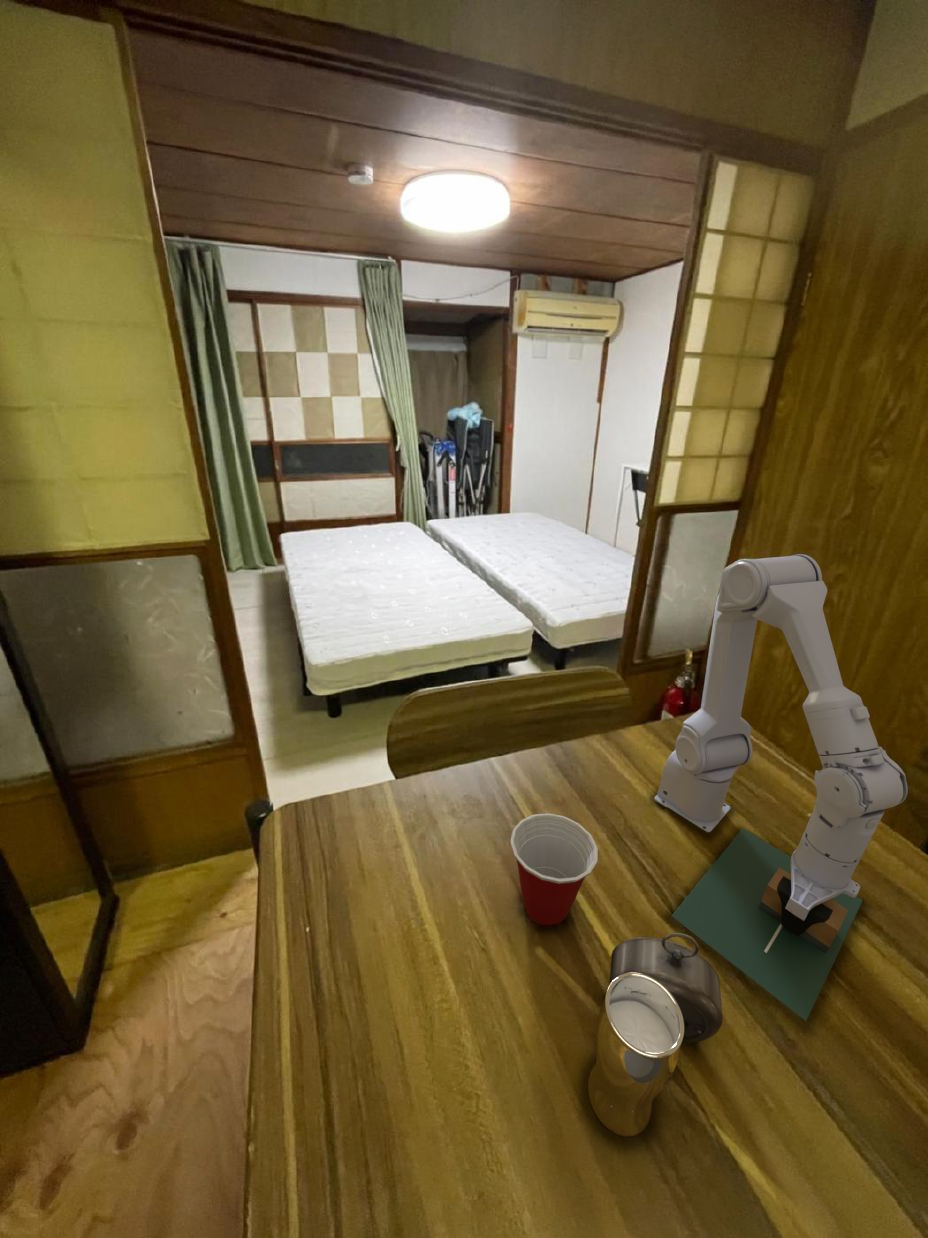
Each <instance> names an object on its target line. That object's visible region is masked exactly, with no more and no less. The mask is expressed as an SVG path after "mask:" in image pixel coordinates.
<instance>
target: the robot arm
mask: <svg viewBox="0 0 928 1238" xmlns="http://www.w3.org/2000/svg"><path fill="white" fill-rule="evenodd" d="M721 571H722V572H721V578H720V584H719V590H718V591H719V592H718V595H717V597H716V600H715V606H714V613H713V621H712V627H711V634H710V640H709V648H708V656H707V661H706V662H707V663H706V670H705V677H704V682H703V683H704V684H703V689H702V697H701V704H700V708H699V709H698V710H697V711H695V712H694V713H693V714H692V715H690V716H689V717H688V718H686V719H685V720H684V721H683V722H682V726H681V731H680V733H679V734H678V735H677V737H676V741H675V745H674V746H675V748H674V750H673V751H672V752H671V753H670V755H669V756H668V758H667V760H666V762H665V764H664V766H663V769H662V774H661V777H660V782H659V784H658V790H657V793H656V795H655V796H654V798H653V799H654V801H655V802H656V803H658V804H660V805H661V806H663V807H664V808H666V809H667V808H669V809H670V810H671V811H673V812H675V813H676V814H678V815H679V816H681V817H683V818H684V819H686V820H688V821H689V822H691V824H694V825H695V826H696V827H698V828H700V829H701V830H703V831H705V832H706V833H711V832H712V831H713V829H715V827H716V826H717V825H718V824H719V823H720V822H721V820H722V819H723V818H724V817H725V816H726V815H727V814H728V813H729V811H731V808H732V807H731V806H730V805H728V804H727V803H725V801H726V798H727V795H728V792H729V789H730V786H731V784H732V783H731V782H732V780H733V776H734V774H735V773H737V772H738V771H739V768H740V766H745V765H747V764H749V763H750V762H751V760H752V758H753V753H754V751H753V744H752V743H753V742H752V738H751V736H752V735H751V734H752V729H753V728H752V726H751V724H749V722H748V721H747V720H745V718H743V717H742V710H743V705H744V701H745V700H744V699H745V694H746V688H747V683H748V677H749V671H750V665H751V658H752V653H753V647H754V641H755V637H756V629H757V624H758V621H760V622H762V623H765V624H767V625H769V626H772V627H773V628H777V629H779V630H780V631H782V633H783V636H784V637H785V639H786V642H787V644H788V647H789V649H790V651H791V654H792V656H793V658H794V660H795V663H796V664H797V667H798V670H799V671H800V673H801V677H802V678H803V681H804V683H805V687H806V688H807V690H808V695H807V697H805V700H804V701H803V703H802V706H801V708H802V710H803V713H804V716H805V718H806V722H807V725H808V728H809V732H810V734H811V737H812V740H813V743H814V745H815V749H816V752H817V755H818V757H819V760H820V764H821V766H822V768H821V769H820V770H815V772H814V779H813V781H814V786H815V790H816V798H815V801H814V808H813V810H812V813H811V814H810V817H809V820H808V822H807V824H806V827H805V828H804V831H803V833H802V835H801V838H800V841H799V844H798V845H797V848H796V849H795V850H794V851H793V852H792V854H791V856H790V857H791V861H790V863H791V880H789V879H788V878H786V877H785V876H783V877H782V879H781V880H780V882H779V883H778V886H777V893H778V895H779V897H780V900H781V905H782V911H781V925H782V926H783V927H785V928H786V929H788V930H789V931H790V932H792V933H793V934H795V935H796V936H800V935H801V934H803V933H804V932H805V931H806V930H807V929H808V928H809V927H810V926H812V925H813V924H816V923H824V922H825V921H827V920H828V919H829V918H830V916H831V914H832V912H833V910H831V909H830V908H828V907H827V906H825V905H824V904H822V903H823V902H825V901H827V900H829V899H832V898H834V897H836V896H838V895H840V894H846V895H848V896H850V897H852V898H855V897H856V896H857V897H858V894H859V892H860V889H861V885H860V884H859V883H858V882H856V881H854V880H853V879H852V877H853V875H854V873H855V870H856V868H857V867H858V864H859V863H860V862H861V859H862V858H863V856H864V853H865V851H866V849H867V848H868V846H869V844H870V842H871V840H872V838H873V836H874V834H875V832H876V830H877V828H878V826H879V824H880V822H881V820H882V818H883V817H884V815H885V810H886V809H890V808H894V807H896V806H899V805H901V804H902V803H903V802H904V801H905V800H906V799H907V797H908V793H909V790H908V789H909V788H908V781H907V776H906V773H905V772H904V770H903V769H902V768H901V767H900V765H899V764H898V763H896V762H895V761H894V760H893V759H891V757H889V755H888V753H887V752H886V750H885V749H883V747H882V746H880V745H879V743H878V740H877V737H876V734H875V732H874V729H873V727H872V724H871V722H870V718H871V716H870V713H869V710H868V707H867V706H865V705H864V703H863V700H862V697H861V696H860V695H859V694H857V693H856V692H854V691H852V690H850V689H849V688H847V687H846V686H844V682H843V679H842V675H841V671H840V668H839V665H838V660H837V656H836V653H835V650H834V645H833V643H832V642H833V641H832V639H831V635H830V631H829V627H828V624H827V620H826V615H825V613H824V603H825V602H826V598H827V594H828V587H827V585H826V584H825V581H824V580H823V573H822V570H821V567H820V566H819V564H818V563H817V561H816V560H815V559H814V558H813V557H812V556H809V555H807V554H804V553H803V554H802V553H799V554H798V553H797V554H792V555H785V556H775V557H774V556H773V557H764V558H763V557H762V558H740V559H738V560H736V561H734V562H733V563H731V564H729V565H727V566H726V567H724V568H723V569H722V570H721Z"/></svg>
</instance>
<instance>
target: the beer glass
mask: <svg viewBox="0 0 928 1238" xmlns="http://www.w3.org/2000/svg"><path fill="white" fill-rule="evenodd" d="M599 1009H600V1010H599V1013H598V1016H597V1021H596V1027H595V1042H594V1043H595V1054H596V1055H595V1057H596V1063H595V1064H594V1065H593V1066H592V1068H591V1070H590V1073H589V1076H588V1080H587V1092H588V1098H589V1099H588V1100H589V1103H590V1106H591V1107H592V1110H593V1112H594V1114H595V1116H596V1118H597V1120H599V1121H600V1123H601V1124H602V1125H603V1126H604V1127H605V1128H606V1129H608V1130H609V1131H610V1132H612V1133H614V1134H615V1135H619V1136H622V1137H634V1136H637V1135H639V1134H640V1133H642V1132H643V1131H644V1130H645V1129H646V1127H648V1124H649V1122H650V1119H651V1117H652V1116H651V1114H652V1107H653V1105H652V1104H653V1100H654V1099H655V1098H656V1097H657V1096H658V1095H659V1094H660V1093H661V1092H662V1091H663V1090H664V1089H665V1087H666V1086H667V1085H668V1084H669V1082H670V1080H671V1078H672V1076H673V1074H674V1071H676V1067H677V1064H678V1061H679V1057H680V1052H681V1048H682V1044H683V1042H682V1040H683V1036H684V1020H683V1016H682V1012H681V1010H680V1007H679V1005H678V1003H677V1002H676V1000H675V998H674V997H673V995H672V994H671V993H670V992H669V991H668V990H667V988H666V987H664V986H663V985H662V984H661V983H660V982H658V981H657V980H655V979H654V978H652V977H650V976H647V975H645V974H641V973H634V972H631V973H625V974H622V975H620V976H618V977H616V978H615V979H614V980H613V981H612V982H611V984H610V985H609V984H608V987H607V988H606V993H605V996H604V997H603V1000H602V1003H601V1006H600V1008H599Z"/></svg>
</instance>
